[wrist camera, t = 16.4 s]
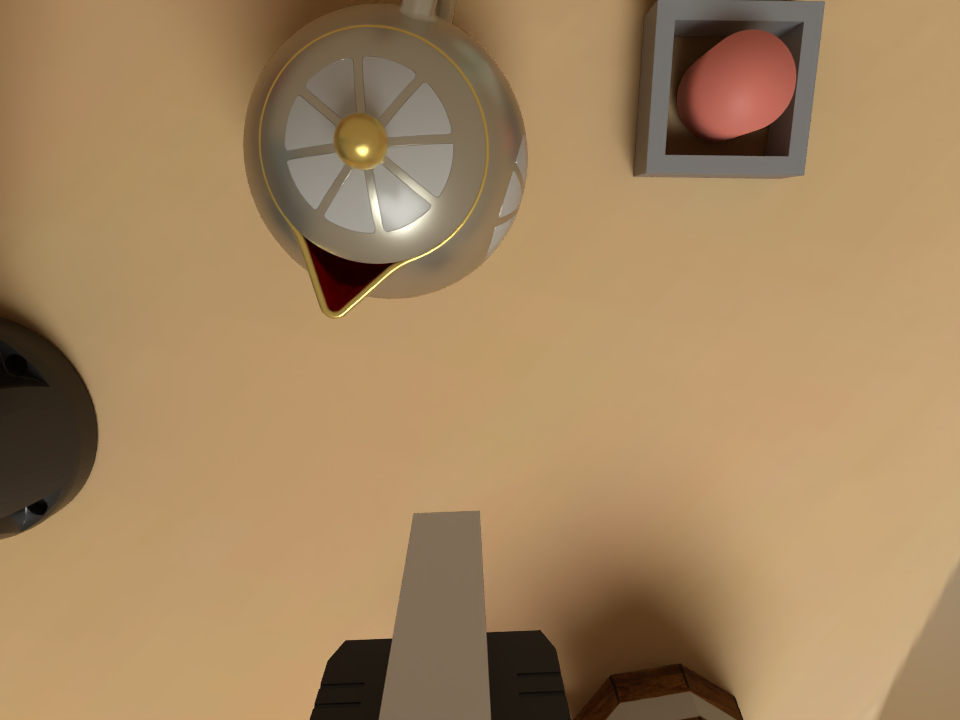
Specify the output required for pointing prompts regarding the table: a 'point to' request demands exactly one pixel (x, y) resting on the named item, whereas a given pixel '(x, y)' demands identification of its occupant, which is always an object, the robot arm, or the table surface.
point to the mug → (660, 697)
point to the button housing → (720, 13)
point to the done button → (737, 86)
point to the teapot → (385, 152)
